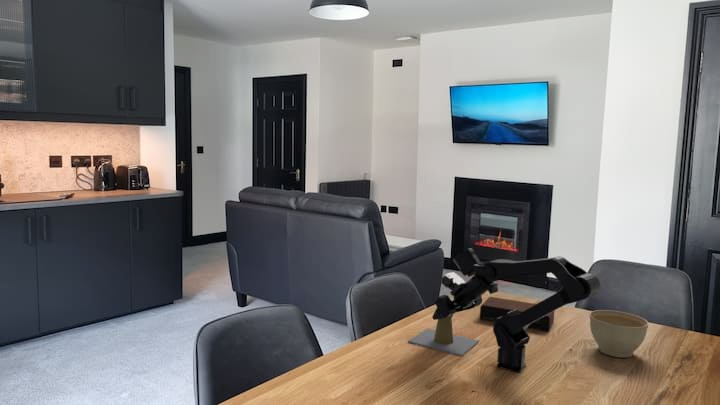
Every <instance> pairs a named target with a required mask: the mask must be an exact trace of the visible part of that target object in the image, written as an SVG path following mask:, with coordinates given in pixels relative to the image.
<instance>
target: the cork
mask: <svg viewBox="0 0 720 405" xmlns="http://www.w3.org/2000/svg"><path fill="white" fill-rule="evenodd" d="M453 316H454V314H453V315H451V316H450V317H447V318H441V319H437V320H436V321H437V322H436V327H435V330H436V332H435V338H434V341H435V342H436V343H438V344H443V345H449V344H452V343H453V334H454V332H453V330H454V329H453V320H452V318H453Z"/></svg>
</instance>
